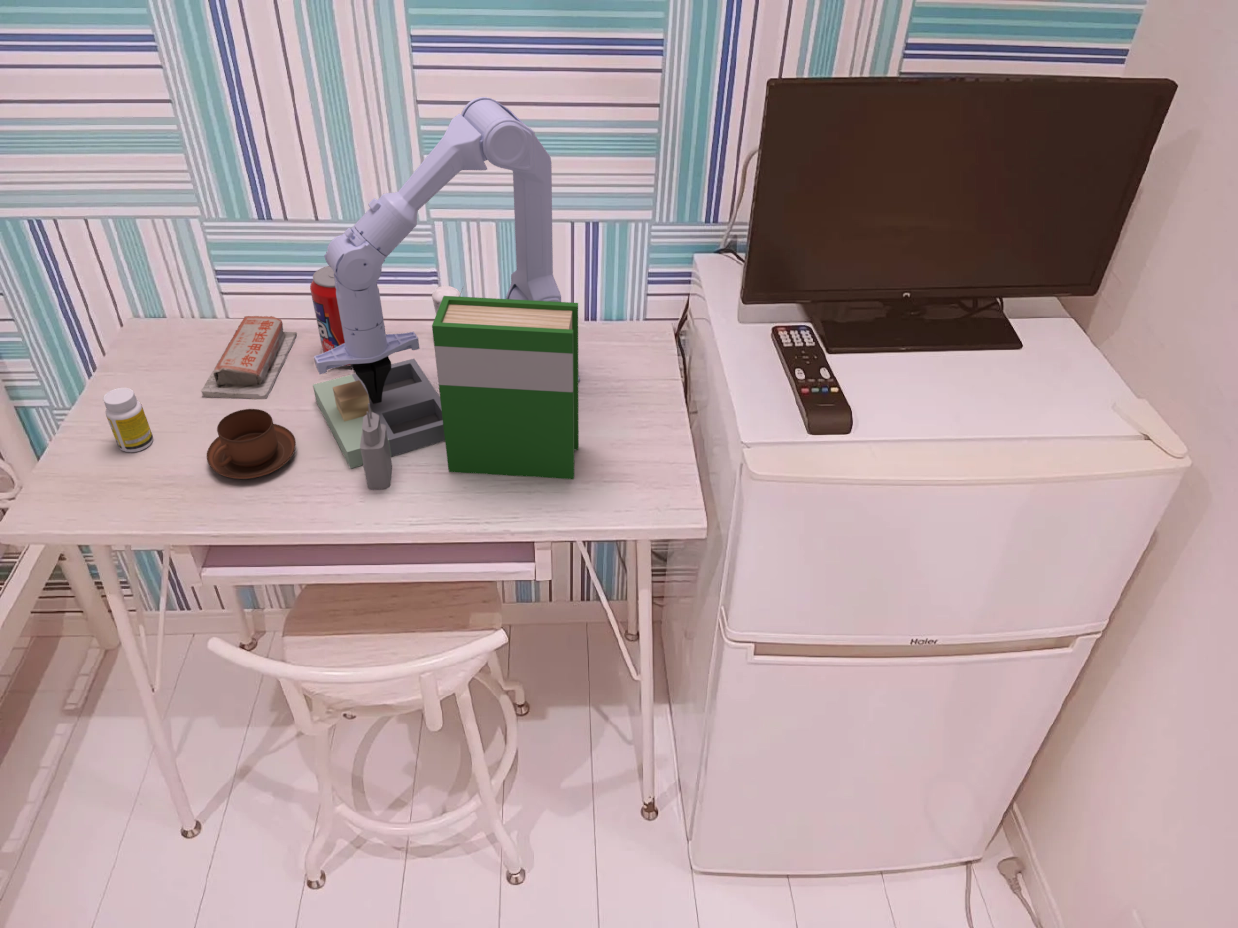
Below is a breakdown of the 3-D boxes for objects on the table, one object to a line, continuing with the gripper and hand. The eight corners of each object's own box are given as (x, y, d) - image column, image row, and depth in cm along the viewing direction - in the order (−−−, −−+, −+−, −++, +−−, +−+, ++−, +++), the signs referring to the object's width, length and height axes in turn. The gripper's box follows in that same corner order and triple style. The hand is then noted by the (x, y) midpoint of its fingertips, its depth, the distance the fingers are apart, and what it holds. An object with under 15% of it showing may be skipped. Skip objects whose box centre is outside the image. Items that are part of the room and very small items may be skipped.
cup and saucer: (276, 491, 135) (267, 456, 131) (194, 480, 136) (182, 446, 132) (311, 438, 144) (303, 404, 140) (234, 428, 145) (224, 394, 141)
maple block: (363, 399, 146) (359, 380, 144) (371, 414, 143) (367, 394, 141) (336, 406, 145) (332, 387, 142) (344, 421, 142) (340, 402, 140)
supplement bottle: (161, 437, 143) (144, 390, 138) (138, 456, 139) (120, 408, 134) (133, 429, 144) (116, 382, 139) (111, 448, 141) (92, 401, 135)
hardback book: (578, 446, 144) (578, 302, 128) (573, 479, 138) (572, 333, 123) (458, 439, 144) (443, 295, 129) (448, 472, 139) (431, 325, 123)
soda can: (373, 368, 157) (359, 286, 148) (322, 372, 156) (305, 288, 147) (374, 342, 163) (361, 260, 154) (326, 345, 162) (310, 263, 153)
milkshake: (463, 346, 163) (458, 293, 156) (432, 342, 164) (426, 289, 157) (472, 332, 166) (467, 280, 160) (441, 328, 167) (436, 276, 161)
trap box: (416, 374, 157) (414, 358, 155) (457, 437, 145) (455, 420, 143) (316, 400, 151) (312, 384, 149) (350, 468, 138) (347, 452, 137)
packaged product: (231, 311, 161) (292, 313, 162) (238, 336, 165) (298, 338, 165) (194, 374, 148) (261, 375, 148) (202, 400, 151) (267, 401, 151)
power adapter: (366, 489, 135) (353, 420, 127) (370, 464, 139) (357, 396, 132) (390, 488, 135) (378, 419, 128) (392, 463, 140) (381, 395, 132)
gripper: (403, 295, 141) (413, 373, 150) (302, 318, 136) (319, 398, 145) (420, 318, 137) (429, 397, 145) (315, 343, 131) (332, 424, 140)
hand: (375, 399), depth 145 cm, fingers closed
